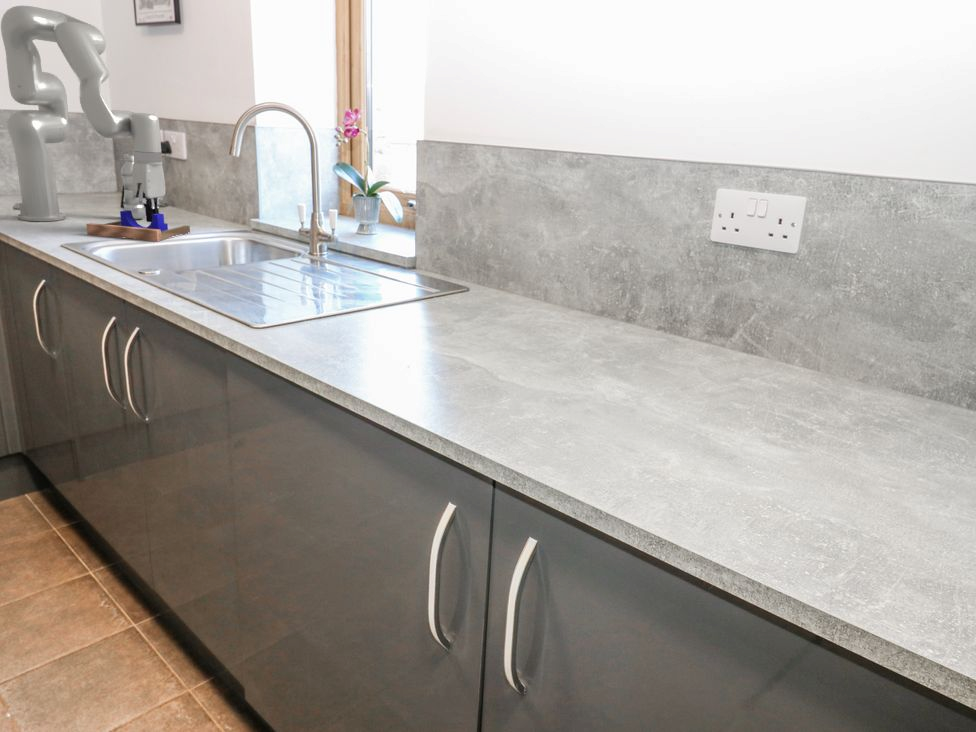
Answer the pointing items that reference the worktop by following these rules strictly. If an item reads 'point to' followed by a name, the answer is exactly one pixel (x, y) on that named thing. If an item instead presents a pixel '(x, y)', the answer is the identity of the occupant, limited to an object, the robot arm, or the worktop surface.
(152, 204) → the robot arm
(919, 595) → the worktop surface
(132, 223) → the cable clip
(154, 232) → the guide channel
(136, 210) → the plastic bottle
